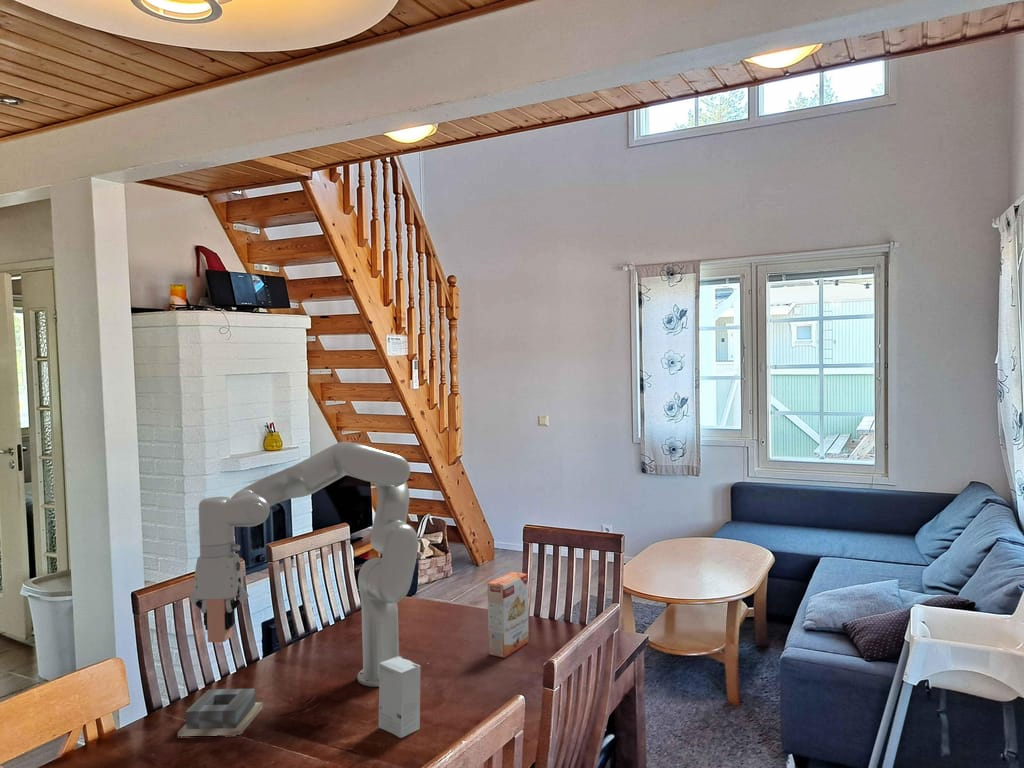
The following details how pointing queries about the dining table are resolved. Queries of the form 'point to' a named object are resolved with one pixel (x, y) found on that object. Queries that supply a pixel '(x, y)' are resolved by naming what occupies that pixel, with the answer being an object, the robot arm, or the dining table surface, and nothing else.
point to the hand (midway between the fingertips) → (219, 627)
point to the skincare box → (399, 696)
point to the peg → (217, 621)
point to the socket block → (221, 713)
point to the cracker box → (508, 614)
